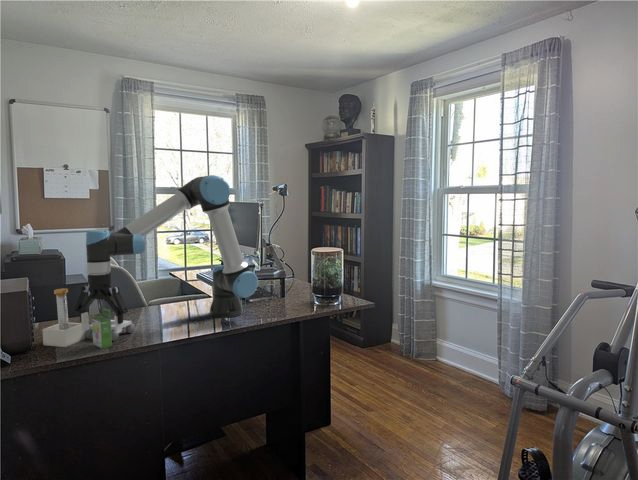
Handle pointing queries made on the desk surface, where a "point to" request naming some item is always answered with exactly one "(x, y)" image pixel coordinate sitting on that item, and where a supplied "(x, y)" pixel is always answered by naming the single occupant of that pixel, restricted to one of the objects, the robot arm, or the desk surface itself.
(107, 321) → the ink box
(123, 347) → the desk surface
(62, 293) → the orange capped clear tube
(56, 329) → the tray
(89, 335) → the cart
